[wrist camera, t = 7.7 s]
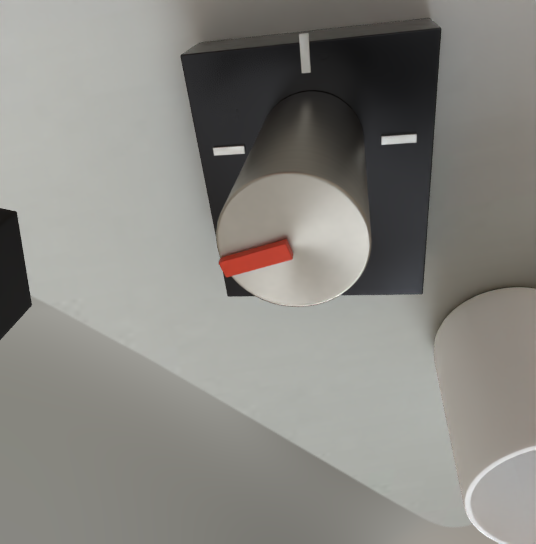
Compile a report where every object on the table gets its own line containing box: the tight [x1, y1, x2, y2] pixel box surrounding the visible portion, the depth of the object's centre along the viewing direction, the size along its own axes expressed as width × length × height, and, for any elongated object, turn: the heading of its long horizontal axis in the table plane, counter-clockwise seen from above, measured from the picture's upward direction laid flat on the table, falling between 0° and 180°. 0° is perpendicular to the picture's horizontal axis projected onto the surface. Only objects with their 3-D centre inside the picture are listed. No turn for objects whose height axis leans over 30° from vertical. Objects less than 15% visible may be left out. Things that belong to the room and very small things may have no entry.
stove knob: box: [216, 91, 372, 307], centre depth 17 cm, size 4×4×9 cm
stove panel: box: [181, 18, 441, 296], centre depth 23 cm, size 12×10×3 cm
